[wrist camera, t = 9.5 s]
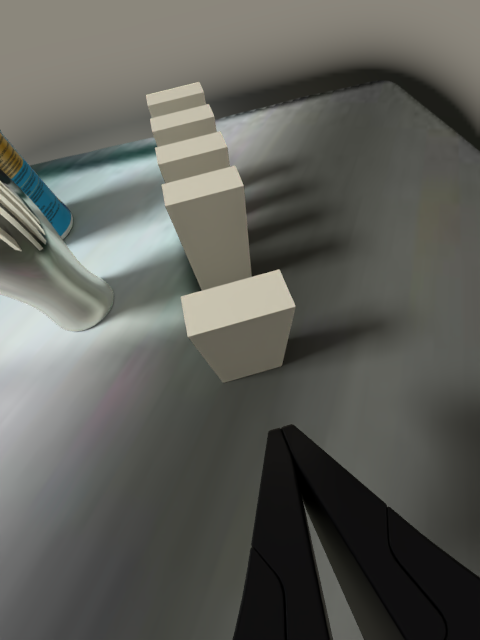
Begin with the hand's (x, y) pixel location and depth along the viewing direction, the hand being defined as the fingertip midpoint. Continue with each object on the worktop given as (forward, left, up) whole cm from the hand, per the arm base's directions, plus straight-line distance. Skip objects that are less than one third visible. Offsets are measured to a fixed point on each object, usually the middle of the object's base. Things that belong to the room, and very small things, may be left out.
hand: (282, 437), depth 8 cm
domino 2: (+14, -4, -11) cm, 18 cm away
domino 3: (+19, -5, -11) cm, 22 cm away
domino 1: (+6, -1, -11) cm, 12 cm away
